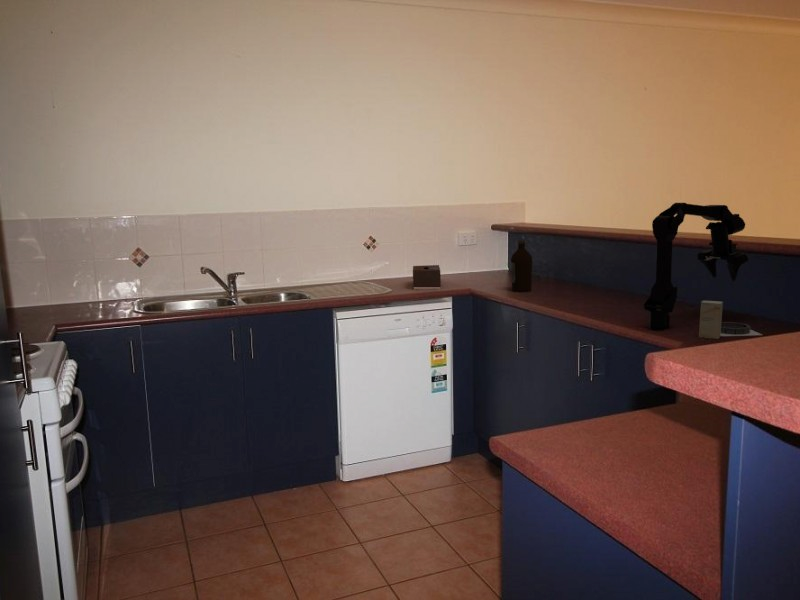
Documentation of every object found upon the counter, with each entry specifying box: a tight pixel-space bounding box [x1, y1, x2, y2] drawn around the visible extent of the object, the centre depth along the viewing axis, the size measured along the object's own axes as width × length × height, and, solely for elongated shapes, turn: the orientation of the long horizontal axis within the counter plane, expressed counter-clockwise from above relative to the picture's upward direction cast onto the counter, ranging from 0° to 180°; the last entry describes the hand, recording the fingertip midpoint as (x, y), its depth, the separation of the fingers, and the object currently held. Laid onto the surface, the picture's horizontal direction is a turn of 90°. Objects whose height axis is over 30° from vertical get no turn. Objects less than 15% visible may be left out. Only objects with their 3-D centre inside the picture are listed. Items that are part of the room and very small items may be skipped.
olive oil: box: [510, 240, 534, 293], centre depth 330 cm, size 11×11×25 cm
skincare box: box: [698, 300, 724, 340], centre depth 219 cm, size 6×4×12 cm
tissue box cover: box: [412, 264, 442, 288], centre depth 359 cm, size 26×14×10 cm, turn 178°
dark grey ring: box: [721, 321, 751, 335], centre depth 226 cm, size 11×11×2 cm
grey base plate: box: [720, 329, 763, 337], centre depth 226 cm, size 14×14×1 cm
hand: (724, 278), depth 247 cm, fingers open, 9 cm apart
